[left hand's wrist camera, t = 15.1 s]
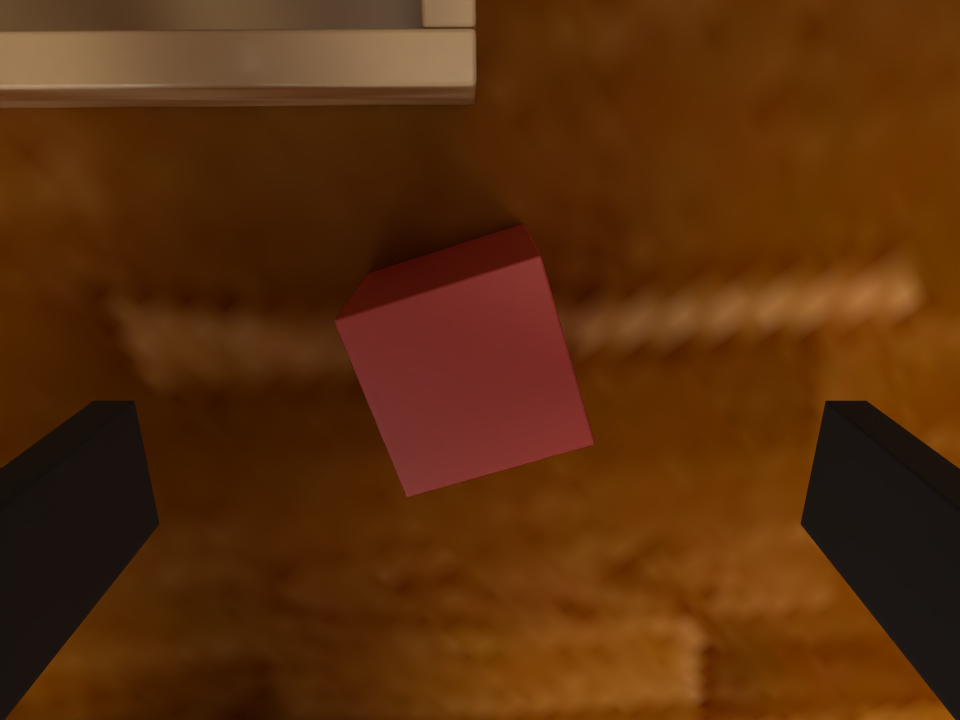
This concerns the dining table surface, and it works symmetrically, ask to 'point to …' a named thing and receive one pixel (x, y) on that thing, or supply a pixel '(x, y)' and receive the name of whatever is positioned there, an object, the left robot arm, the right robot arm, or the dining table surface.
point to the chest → (236, 53)
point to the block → (465, 361)
